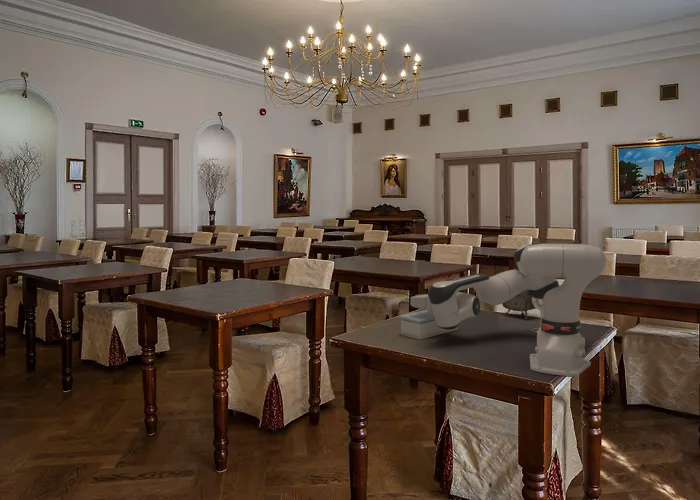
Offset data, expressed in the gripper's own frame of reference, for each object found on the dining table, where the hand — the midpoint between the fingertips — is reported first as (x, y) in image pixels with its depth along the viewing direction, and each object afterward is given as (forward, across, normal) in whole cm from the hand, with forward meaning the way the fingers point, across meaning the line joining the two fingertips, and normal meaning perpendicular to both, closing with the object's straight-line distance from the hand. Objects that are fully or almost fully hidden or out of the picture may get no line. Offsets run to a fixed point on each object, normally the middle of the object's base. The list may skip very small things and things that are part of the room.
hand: (417, 296), depth 221 cm
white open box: (-7, 0, +14) cm, 15 cm away
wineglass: (-37, -34, +14) cm, 52 cm away
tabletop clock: (-17, -52, +14) cm, 56 cm away
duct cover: (-6, 0, +7) cm, 10 cm away
